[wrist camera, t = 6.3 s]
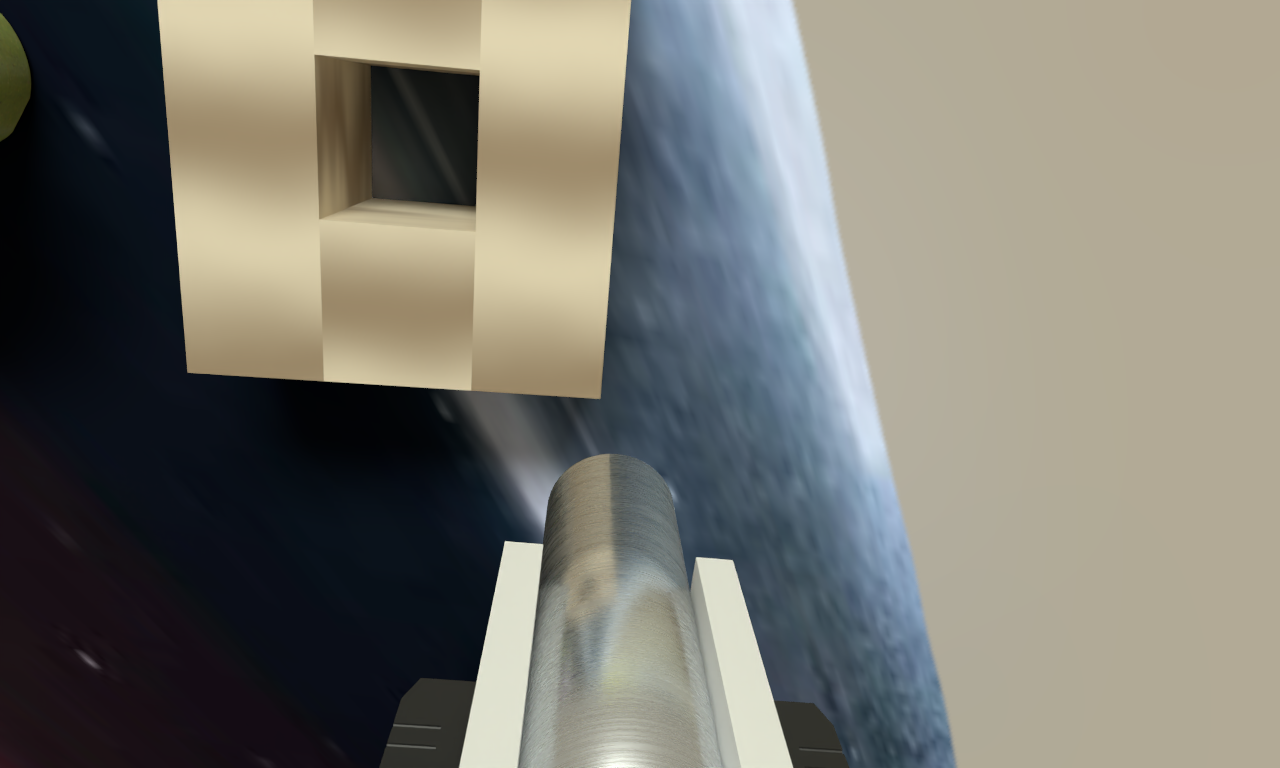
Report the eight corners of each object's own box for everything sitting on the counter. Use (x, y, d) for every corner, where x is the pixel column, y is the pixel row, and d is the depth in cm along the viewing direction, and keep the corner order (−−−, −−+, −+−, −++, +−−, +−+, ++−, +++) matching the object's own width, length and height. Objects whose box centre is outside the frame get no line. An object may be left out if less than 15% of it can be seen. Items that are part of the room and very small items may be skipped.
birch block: (598, 345, 36) (600, 398, 30) (263, 322, 35) (187, 372, 29) (629, -67, 31) (639, -114, 25) (241, -110, 30) (143, -171, 24)
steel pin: (664, 572, 22) (738, 1079, 11) (542, 562, 22) (482, 1072, 10) (681, 459, 21) (780, 889, 10) (552, 448, 21) (499, 874, 9)
